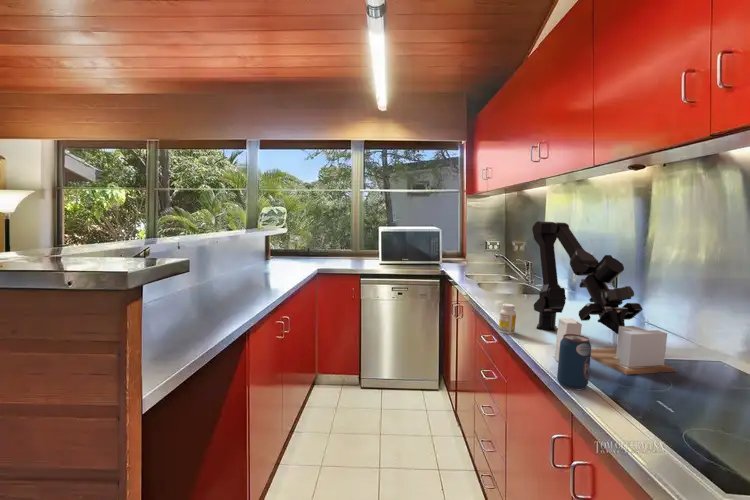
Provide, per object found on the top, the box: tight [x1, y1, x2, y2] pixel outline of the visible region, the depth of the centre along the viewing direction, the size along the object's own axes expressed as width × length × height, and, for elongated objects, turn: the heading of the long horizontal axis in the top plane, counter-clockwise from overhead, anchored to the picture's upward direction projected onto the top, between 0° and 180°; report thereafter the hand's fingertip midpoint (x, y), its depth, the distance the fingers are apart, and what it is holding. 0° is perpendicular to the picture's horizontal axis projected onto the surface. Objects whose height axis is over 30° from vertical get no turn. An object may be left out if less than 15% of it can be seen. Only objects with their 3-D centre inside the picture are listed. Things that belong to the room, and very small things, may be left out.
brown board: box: [590, 347, 675, 375], centre depth 129 cm, size 18×16×1 cm
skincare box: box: [554, 317, 583, 362], centre depth 126 cm, size 6×4×12 cm
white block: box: [616, 325, 668, 367], centre depth 126 cm, size 8×12×9 cm, turn 105°
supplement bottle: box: [498, 303, 517, 335], centre depth 156 cm, size 5×5×10 cm
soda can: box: [556, 334, 592, 390], centre depth 109 cm, size 7×7×12 cm
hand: (624, 336), depth 130 cm, fingers closed
